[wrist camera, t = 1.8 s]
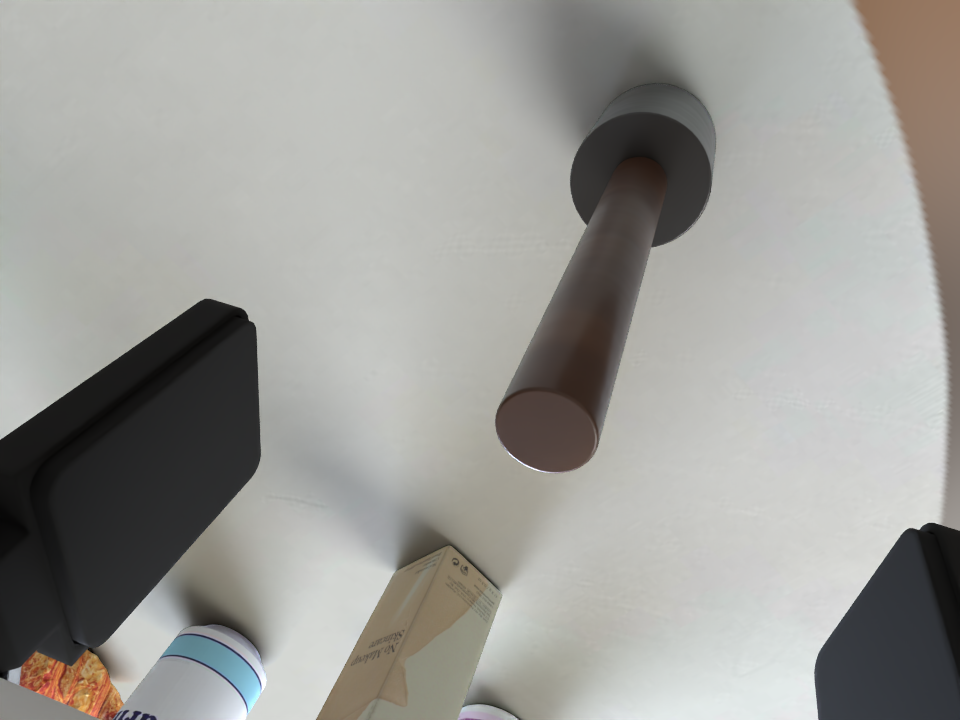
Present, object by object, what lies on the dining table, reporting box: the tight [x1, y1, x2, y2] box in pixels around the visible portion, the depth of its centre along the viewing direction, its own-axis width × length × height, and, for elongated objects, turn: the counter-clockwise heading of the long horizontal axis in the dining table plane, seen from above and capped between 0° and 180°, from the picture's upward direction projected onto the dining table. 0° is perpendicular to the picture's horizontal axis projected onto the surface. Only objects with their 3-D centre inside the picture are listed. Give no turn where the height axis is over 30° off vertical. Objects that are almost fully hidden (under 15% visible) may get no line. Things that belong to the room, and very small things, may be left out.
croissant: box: [19, 650, 124, 720], centre depth 55 cm, size 21×10×8 cm, turn 58°
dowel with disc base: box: [495, 84, 716, 473], centre depth 17 cm, size 4×4×16 cm
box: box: [316, 545, 502, 720], centre depth 34 cm, size 5×4×11 cm
